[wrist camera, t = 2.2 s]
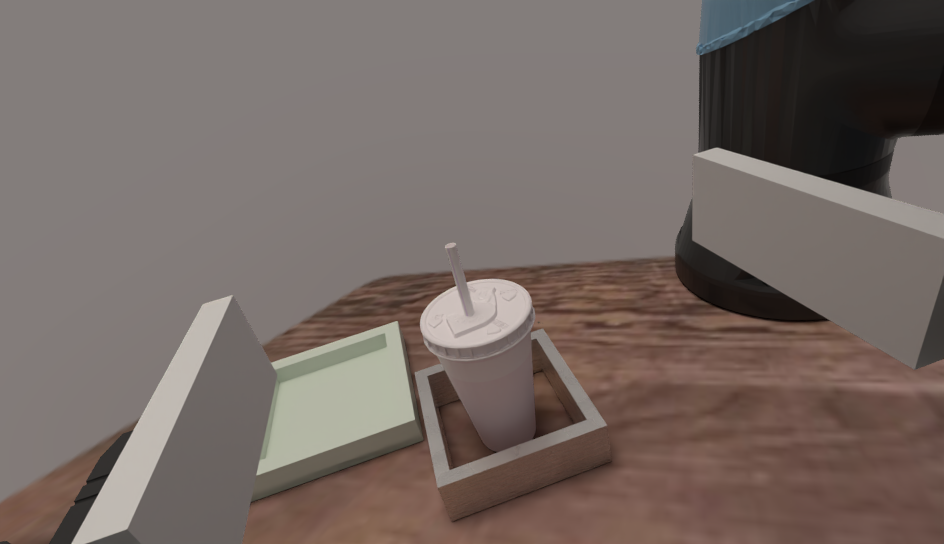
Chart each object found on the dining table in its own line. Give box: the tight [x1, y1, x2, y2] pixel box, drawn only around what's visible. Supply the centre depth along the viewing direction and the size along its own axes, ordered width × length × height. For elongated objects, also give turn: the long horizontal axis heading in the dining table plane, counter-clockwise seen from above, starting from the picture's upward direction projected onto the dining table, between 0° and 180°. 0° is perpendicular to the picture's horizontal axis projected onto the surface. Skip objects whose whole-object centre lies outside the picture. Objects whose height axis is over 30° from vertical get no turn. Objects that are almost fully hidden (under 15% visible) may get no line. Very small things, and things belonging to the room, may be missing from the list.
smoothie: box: [420, 243, 536, 452], centre depth 27 cm, size 6×6×14 cm
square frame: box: [415, 329, 612, 521], centre depth 30 cm, size 10×10×3 cm
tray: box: [251, 321, 423, 502], centre depth 35 cm, size 12×12×2 cm
